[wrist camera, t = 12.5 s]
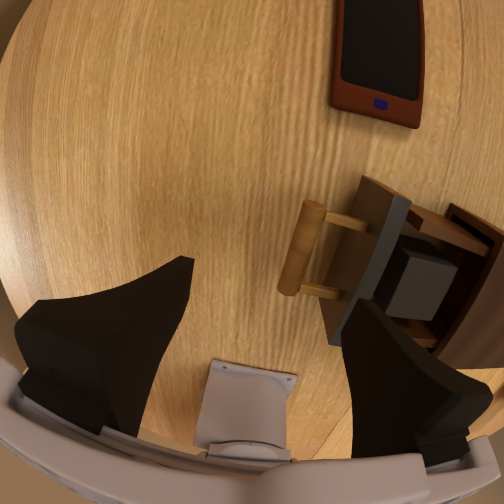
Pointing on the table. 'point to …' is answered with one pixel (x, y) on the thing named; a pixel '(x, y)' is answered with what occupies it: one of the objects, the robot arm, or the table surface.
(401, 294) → the block
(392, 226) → the drawer
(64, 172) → the table surface
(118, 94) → the table surface
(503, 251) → the cabinet
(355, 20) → the smartphone
